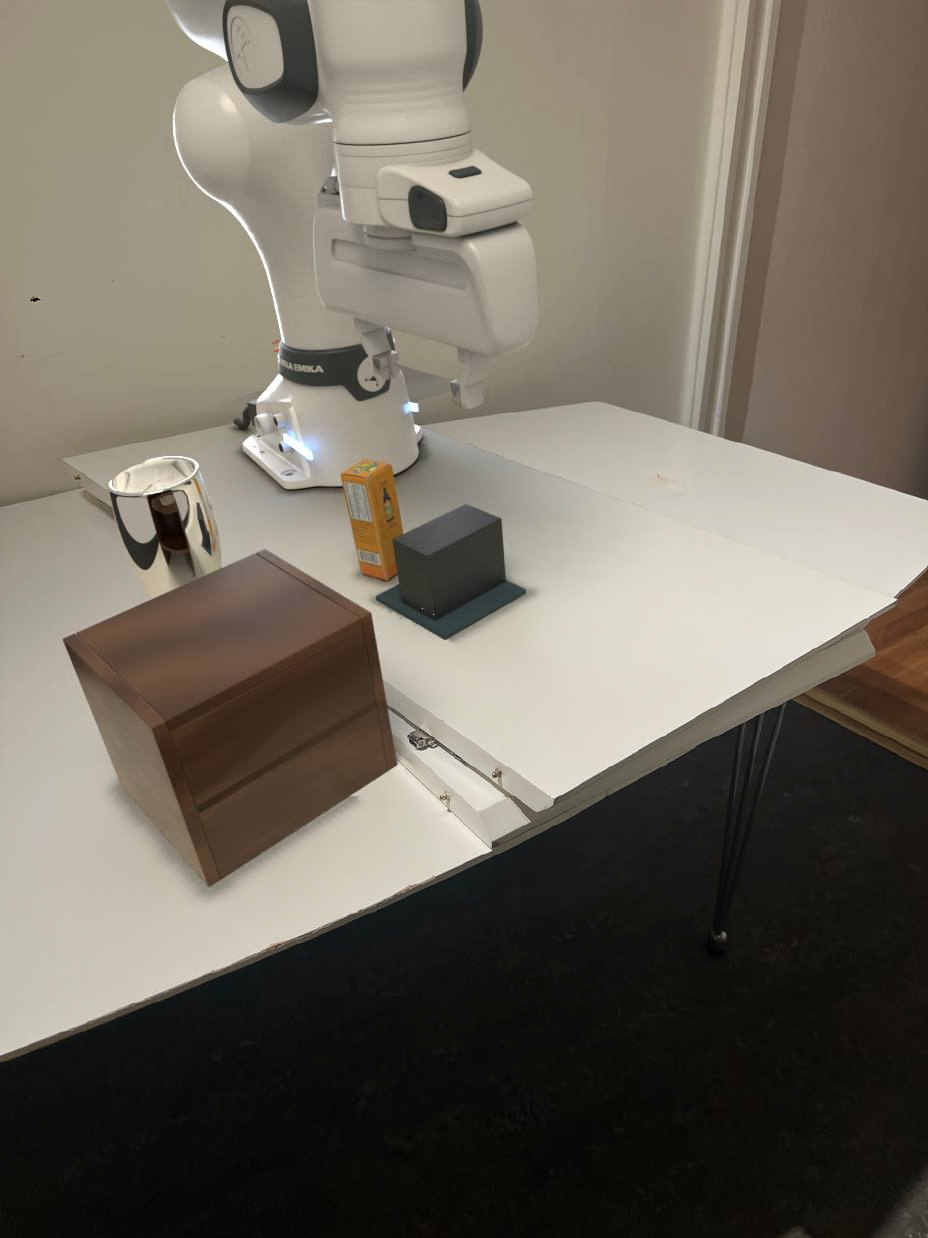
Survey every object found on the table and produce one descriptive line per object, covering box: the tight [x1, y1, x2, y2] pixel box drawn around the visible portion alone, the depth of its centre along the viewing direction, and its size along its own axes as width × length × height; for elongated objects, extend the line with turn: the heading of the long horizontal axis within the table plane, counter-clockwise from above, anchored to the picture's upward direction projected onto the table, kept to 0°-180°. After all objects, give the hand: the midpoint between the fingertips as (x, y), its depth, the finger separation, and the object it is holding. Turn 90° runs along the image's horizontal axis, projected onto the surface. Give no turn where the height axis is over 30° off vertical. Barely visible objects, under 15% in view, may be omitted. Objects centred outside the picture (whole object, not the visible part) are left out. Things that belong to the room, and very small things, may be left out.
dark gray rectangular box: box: [392, 503, 507, 621], centre depth 75 cm, size 4×8×6 cm, turn 132°
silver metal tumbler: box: [106, 455, 223, 600], centre depth 70 cm, size 7×7×15 cm
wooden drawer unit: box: [62, 548, 398, 887], centre depth 57 cm, size 12×14×12 cm
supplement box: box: [341, 459, 405, 581], centre depth 78 cm, size 3×3×10 cm
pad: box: [375, 579, 527, 640], centre depth 76 cm, size 9×9×1 cm
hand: (425, 390), depth 67 cm, fingers open, 8 cm apart
